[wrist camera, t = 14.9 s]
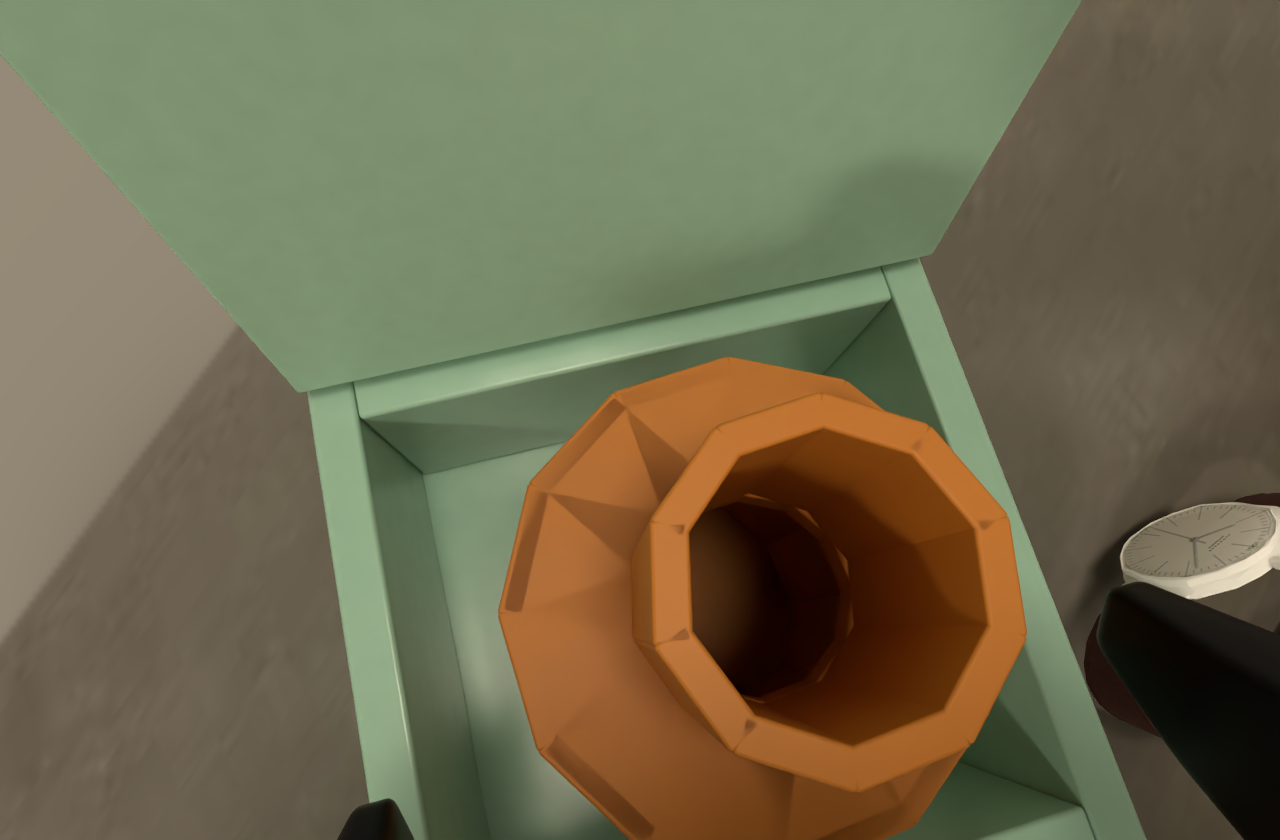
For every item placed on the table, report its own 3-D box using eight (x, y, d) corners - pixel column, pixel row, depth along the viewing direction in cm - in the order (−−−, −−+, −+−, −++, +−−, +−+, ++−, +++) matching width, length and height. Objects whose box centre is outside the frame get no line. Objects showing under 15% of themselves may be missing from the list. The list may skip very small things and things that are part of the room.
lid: (1751, -1120, 4) (1651, -1122, 4) (-1132, -1215, 2) (-1003, -1206, 3) (933, 256, 14) (919, 231, 14) (297, 395, 12) (295, 364, 13)
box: (970, 774, 17) (1150, 845, 12) (476, 929, 16) (411, 1095, 10) (827, 357, 20) (918, 252, 14) (392, 459, 18) (304, 386, 13)
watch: (1225, 454, 20) (1361, 418, 16) (1357, 605, 19) (1530, 600, 15) (1016, 621, 18) (1116, 620, 15) (1147, 794, 17) (1287, 836, 14)
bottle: (831, 688, 17) (1351, 827, 5) (597, 781, 16) (600, 1183, 4) (742, 460, 18) (999, 168, 7) (521, 534, 17) (373, 350, 6)
